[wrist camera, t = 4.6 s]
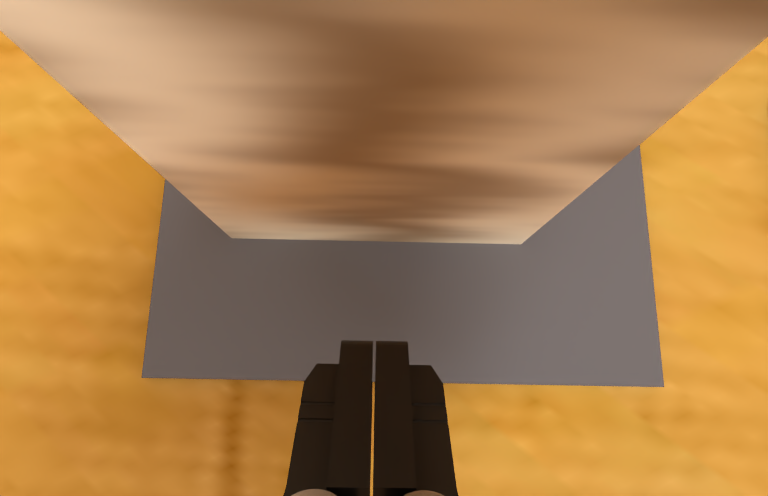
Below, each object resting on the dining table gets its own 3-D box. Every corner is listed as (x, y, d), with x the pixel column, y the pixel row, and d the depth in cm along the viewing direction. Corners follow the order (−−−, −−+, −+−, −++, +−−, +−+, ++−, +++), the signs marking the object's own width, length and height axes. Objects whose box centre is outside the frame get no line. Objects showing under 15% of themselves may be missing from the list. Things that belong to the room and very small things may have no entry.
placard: (518, 194, 18) (938, -309, 5) (520, 244, 18) (989, -151, 4) (235, 188, 18) (-184, -349, 5) (231, 238, 18) (-245, -190, 4)
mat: (607, -124, 22) (611, -132, 22) (657, 386, 17) (663, 386, 17) (207, -135, 22) (204, -145, 21) (147, 377, 17) (141, 377, 17)
